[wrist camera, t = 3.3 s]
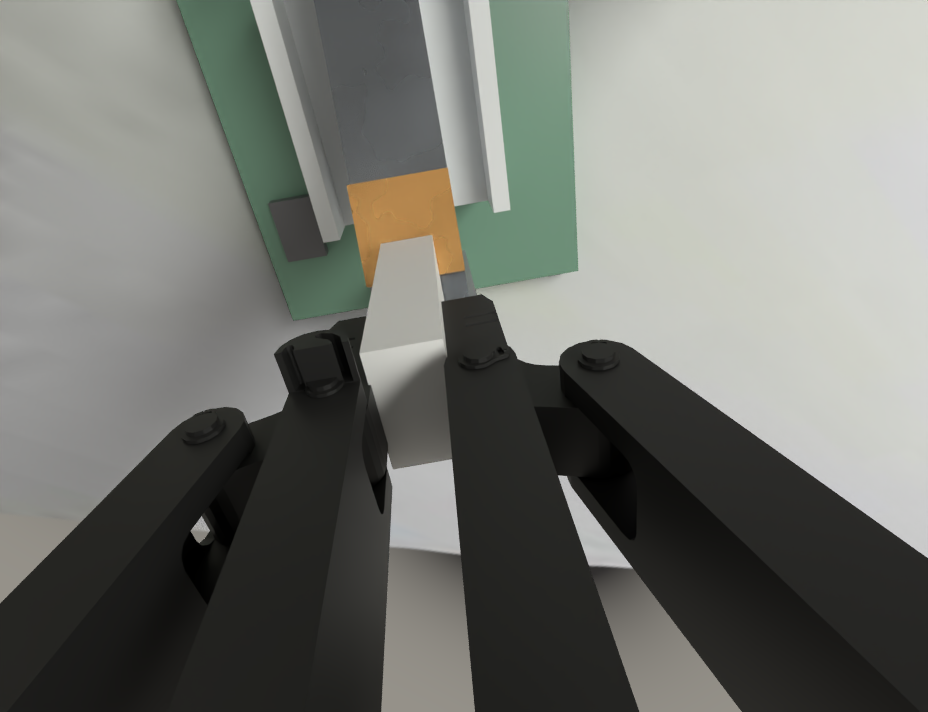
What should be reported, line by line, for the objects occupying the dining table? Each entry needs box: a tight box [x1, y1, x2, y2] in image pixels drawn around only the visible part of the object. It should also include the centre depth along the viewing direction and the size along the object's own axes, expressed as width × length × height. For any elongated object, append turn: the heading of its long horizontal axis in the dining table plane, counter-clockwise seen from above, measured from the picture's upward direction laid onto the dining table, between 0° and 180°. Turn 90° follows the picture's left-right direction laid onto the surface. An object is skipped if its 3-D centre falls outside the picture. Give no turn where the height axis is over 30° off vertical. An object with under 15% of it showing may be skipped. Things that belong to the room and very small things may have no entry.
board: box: [176, 0, 578, 321], centre depth 20 cm, size 20×16×10 cm
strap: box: [314, 0, 469, 301], centre depth 16 cm, size 15×4×2 cm, turn 10°
